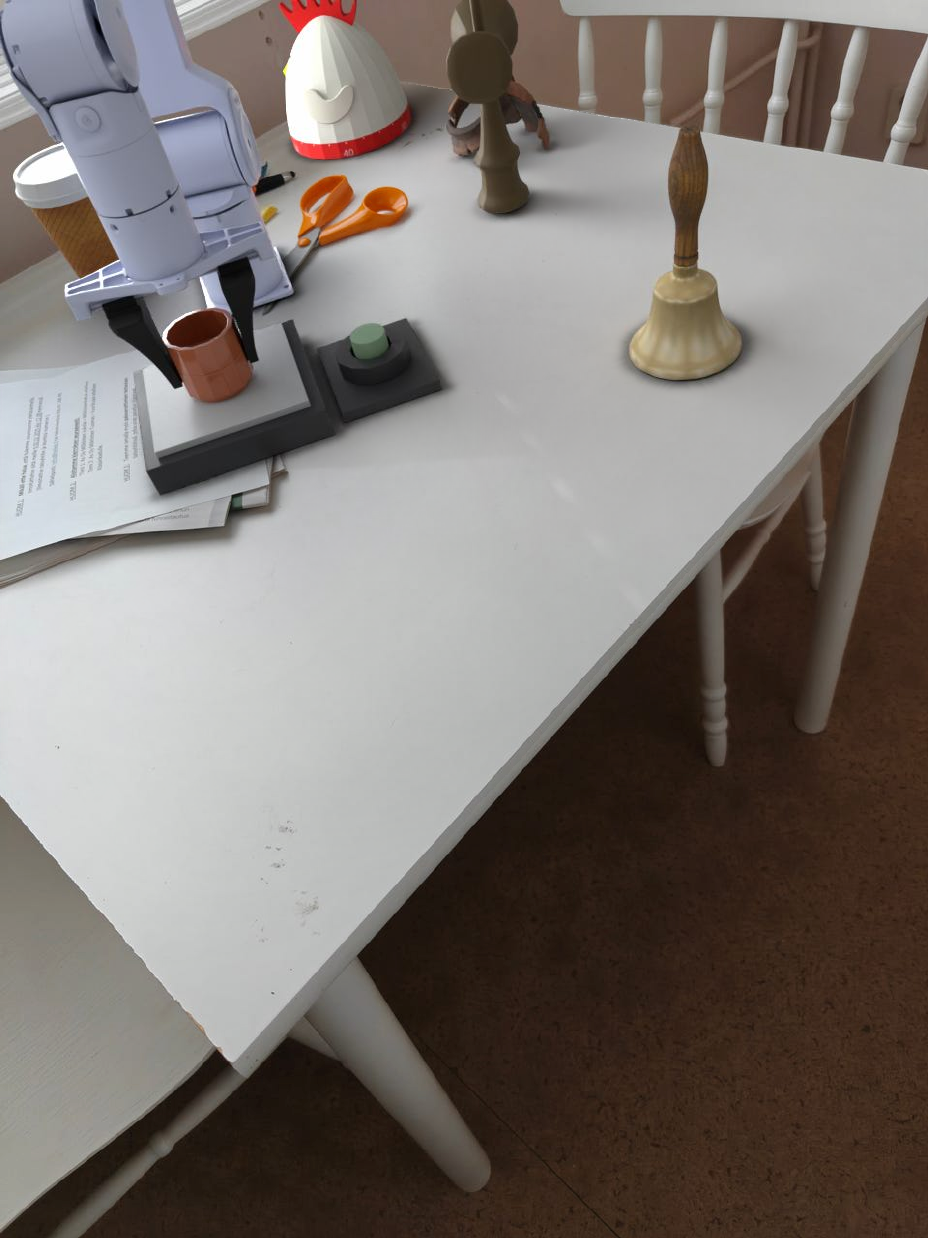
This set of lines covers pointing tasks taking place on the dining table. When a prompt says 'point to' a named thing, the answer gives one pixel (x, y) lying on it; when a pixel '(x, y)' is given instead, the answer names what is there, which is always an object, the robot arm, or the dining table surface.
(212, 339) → the terracotta flower pot
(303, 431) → the scale
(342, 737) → the dining table surface
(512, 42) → the kendama
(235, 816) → the dining table surface
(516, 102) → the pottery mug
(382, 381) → the pad
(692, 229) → the hand bell
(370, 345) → the tare button
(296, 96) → the kitchen timer
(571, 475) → the dining table surface
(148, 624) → the dining table surface
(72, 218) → the disposable coffee cup
